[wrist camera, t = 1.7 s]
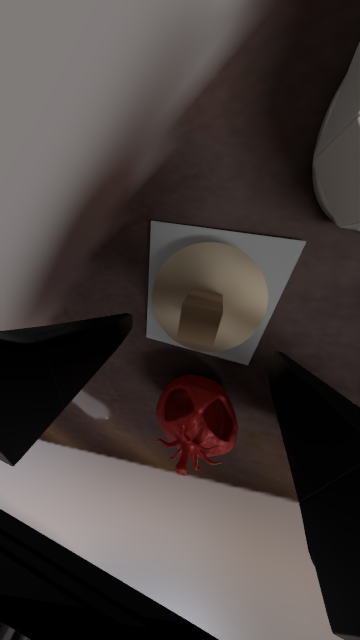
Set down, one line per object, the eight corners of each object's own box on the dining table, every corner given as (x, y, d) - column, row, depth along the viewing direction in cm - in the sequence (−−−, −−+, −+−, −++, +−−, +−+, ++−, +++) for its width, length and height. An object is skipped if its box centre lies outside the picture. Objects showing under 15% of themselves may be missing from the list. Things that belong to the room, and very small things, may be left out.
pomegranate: (220, 420, 24) (220, 511, 16) (162, 398, 25) (134, 472, 17) (245, 380, 19) (264, 481, 11) (172, 356, 20) (139, 430, 12)
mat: (247, 363, 18) (247, 365, 17) (147, 335, 20) (146, 337, 19) (304, 241, 12) (306, 241, 11) (152, 221, 14) (151, 220, 13)
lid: (242, 356, 17) (250, 399, 12) (153, 333, 19) (130, 362, 14) (286, 253, 12) (331, 254, 7) (160, 234, 14) (126, 225, 9)
